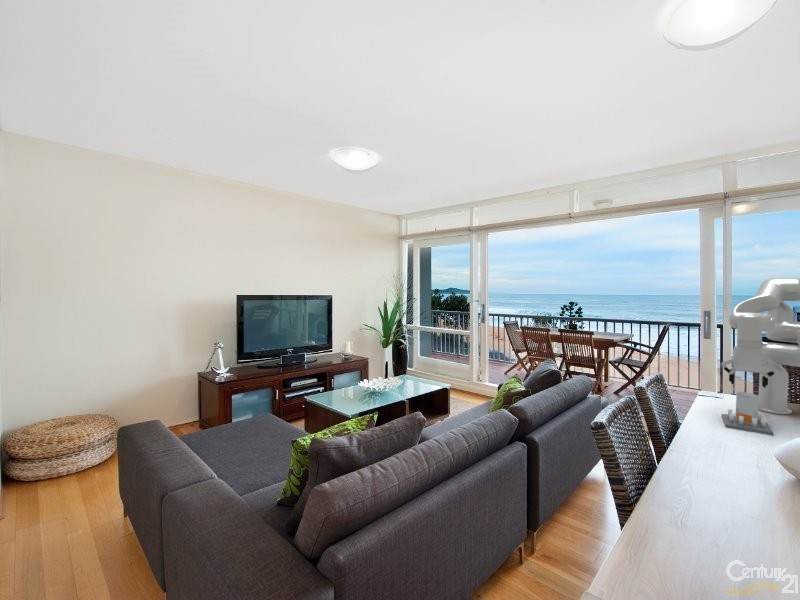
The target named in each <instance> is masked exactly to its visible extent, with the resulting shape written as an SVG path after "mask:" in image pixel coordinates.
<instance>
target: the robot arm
mask: <svg viewBox="0 0 800 600" xmlns="http://www.w3.org/2000/svg"><path fill="white" fill-rule="evenodd" d="M786 302H800V278H798V277H783V278H782V277H780V278H779V277H778V278H776V277H775V278H768V279H765V280H764V281H763V282H761V284H760V286H759V288H758V290H757V292H756V293H755V295H754V297H750V298H748V299H746V300H744V301H741V302H739V303H737V305H735V306H734V307H733V309H732V311H731V313H730V316H729V319H728V322H729V325H730V327H731V328H733V329H736V330H737V331H736V345H734V346H733V351H732V355H731V356H732V357H731V359H729V360H725V361H722V362H720V365H721V366H722V369H724V371H725V372H727V373H728V381H729V382H730V383H731V385H735V373H736V372H745V373H747V372H748V373H756V374H759V376H758V377H759V380H758V395H759V409H758V411H761V412H765V413H771V414H776V415H777V414H778V415H791V414H792V413H793V412H792V410H791V409H789V408H788V396H789V395H788V393H789V390H788V389H789V373H788V372H787V370H786V368H784V367H783V366H784V365H785V366H790V367H791V366H792V367H800V321H794V313H795V312H794V309H793V308H792V307H791V306H790V305H789V304H787V303H786ZM764 312H767V313H764ZM763 332H765V334H764V335H765V337H766V338H767V339H768V340H770V341H771V340H772V341H776V342H764V341H763ZM777 341H778V342H777ZM779 342H780V343H779ZM781 342H788V343H781ZM789 343H790V344H789ZM791 343H796V344H791ZM727 365H731V367H732V368H730V369H729V367H727Z"/></svg>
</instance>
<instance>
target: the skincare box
mask: <svg viewBox="0 0 800 600" xmlns="http://www.w3.org/2000/svg"><path fill="white" fill-rule="evenodd" d="M735 395H736V399H735V400H736V401H735V414H734V416H735V420H736V421H739V416H743V417H744V421H743V423H747V424H750V425H752V418H757V424H758V414H759V410H758V409H759V394H754V393H750V392H744V391H739V392H737V393H736V394H735Z"/></svg>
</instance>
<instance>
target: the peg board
mask: <svg viewBox="0 0 800 600" xmlns="http://www.w3.org/2000/svg"><path fill="white" fill-rule="evenodd" d="M721 418H722V421H723V423H724V426H725V428H728V429H732V430H733V429H734V430H739V431H746V432H751V433H756V434H762V435H768V436H774V431H773V430H772V428H771V427H770V425H769V424H768V423H767V419H766V418H764V414H761V413H758V424H757V418H752V425H750V424H747V423H743V421H744V417H743V416H739V421H736V420H735V414H734V413H733V409H727V414H725V413H721Z"/></svg>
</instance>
